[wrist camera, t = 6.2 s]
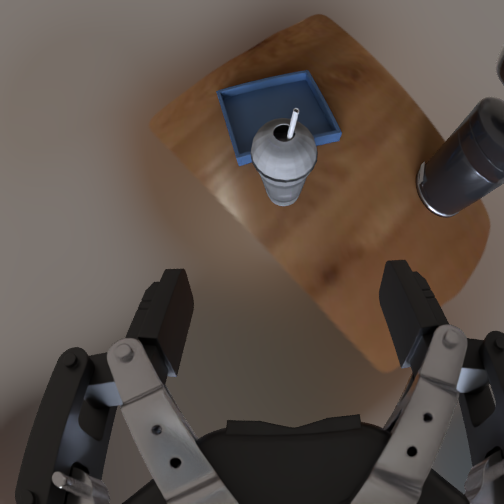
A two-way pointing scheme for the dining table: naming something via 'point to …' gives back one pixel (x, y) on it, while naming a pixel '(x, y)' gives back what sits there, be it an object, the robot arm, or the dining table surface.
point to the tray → (275, 109)
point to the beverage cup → (284, 157)
